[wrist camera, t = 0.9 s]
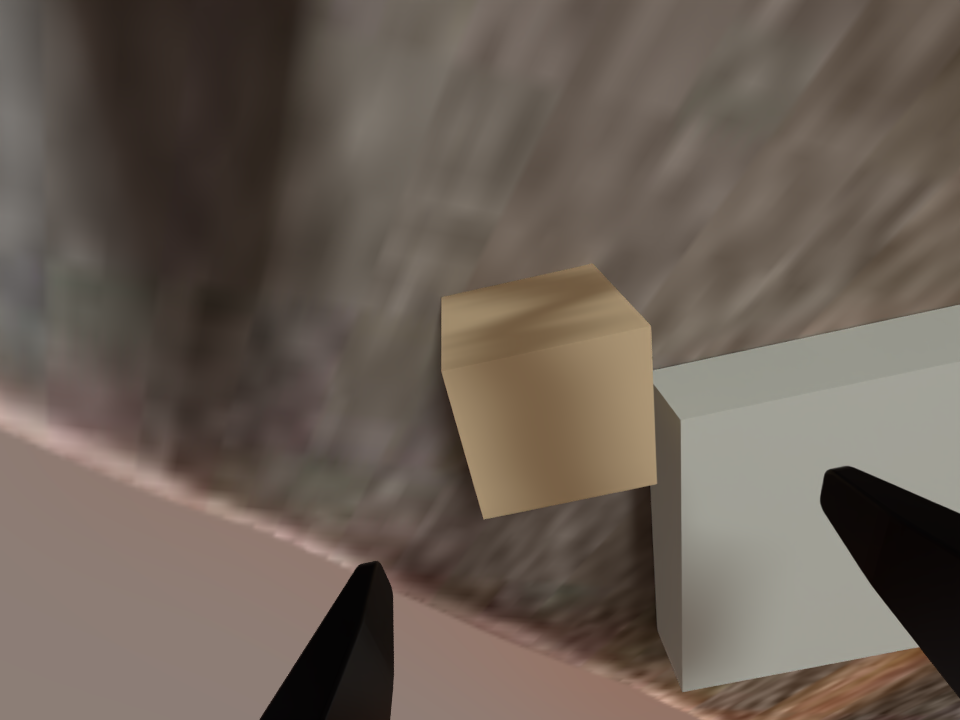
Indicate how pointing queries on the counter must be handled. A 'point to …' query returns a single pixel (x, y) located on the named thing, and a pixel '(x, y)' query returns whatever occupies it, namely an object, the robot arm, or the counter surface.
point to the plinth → (792, 491)
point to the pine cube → (550, 390)
